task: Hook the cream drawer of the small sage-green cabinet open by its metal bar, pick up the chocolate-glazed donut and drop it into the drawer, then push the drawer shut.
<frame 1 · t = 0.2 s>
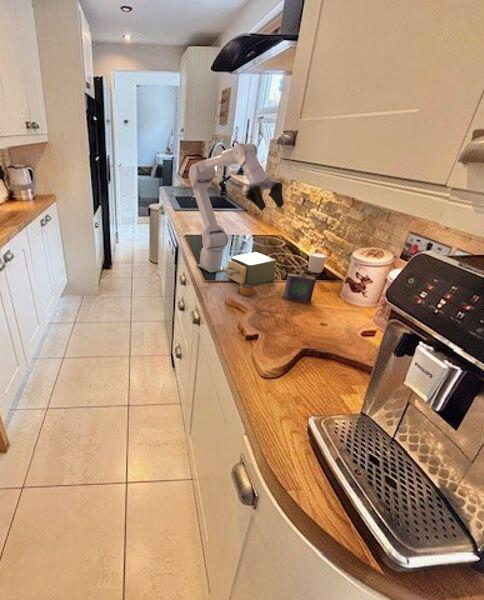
hand: (272, 207, 106), 31 cm above the worktop, tool tilted 45°, fingers open, 7 cm apart
cabinet: (250, 278, 132), on the worktop
flask: (296, 300, 115), on the worktop
shot glass: (314, 270, 142), on the worktop
drawer: (242, 270, 128), point 4 cm above the worktop, slide at 1.0 cm
donut: (246, 292, 120), on the worktop
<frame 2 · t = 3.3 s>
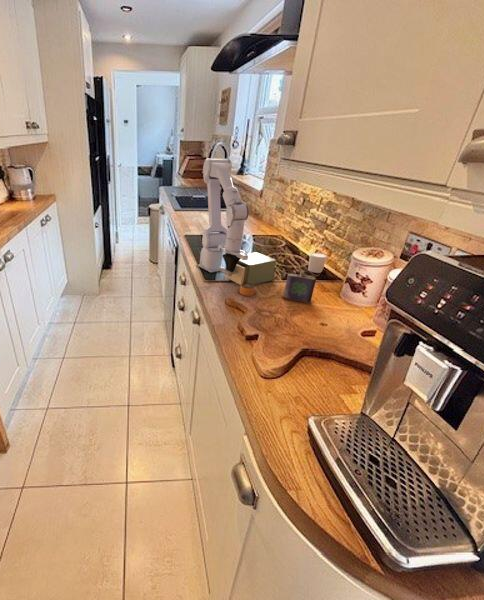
hand: (229, 272, 124), 5 cm above the worktop, tool pointing down, fingers closed, pressing on drawer
drawer: (241, 271, 127), point 4 cm above the worktop, slide at 1.8 cm, touching gripper
everything else where it was.
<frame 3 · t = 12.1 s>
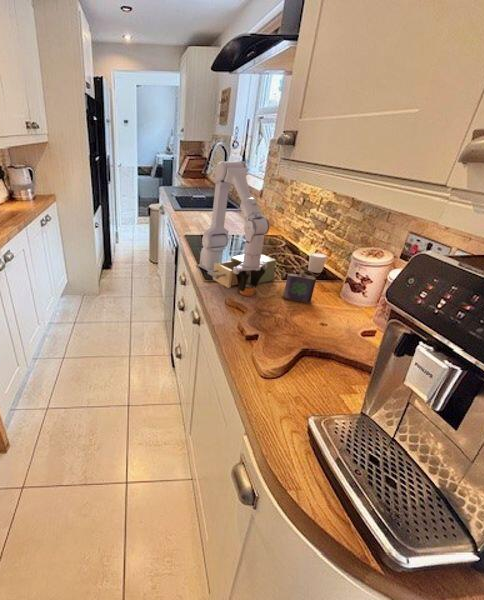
hand: (247, 288, 119), 2 cm above the worktop, tool pointing down, fingers closed on donut, 5 cm apart
drawer: (229, 273, 125), point 4 cm above the worktop, slide at 7.8 cm
donut: (246, 292, 120), on the worktop, touching gripper
everything else where it was.
when the fingers open (6 cm above the worktop, at t = 16.1 s): donut drops 3 cm, resting on drawer.
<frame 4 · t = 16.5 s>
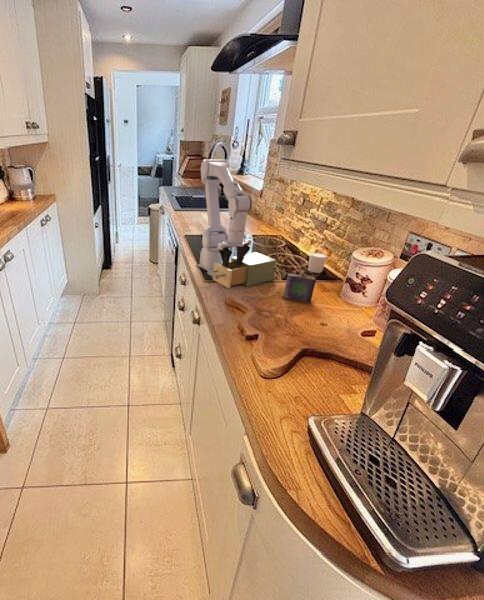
hand: (232, 265, 124), 8 cm above the worktop, tool pointing down, fingers open, 6 cm apart
drawer: (229, 273, 125), point 4 cm above the worktop, slide at 7.9 cm, touching donut, gripper
donut: (230, 278, 126), point 2 cm above the worktop, touching drawer
everything else where it was.
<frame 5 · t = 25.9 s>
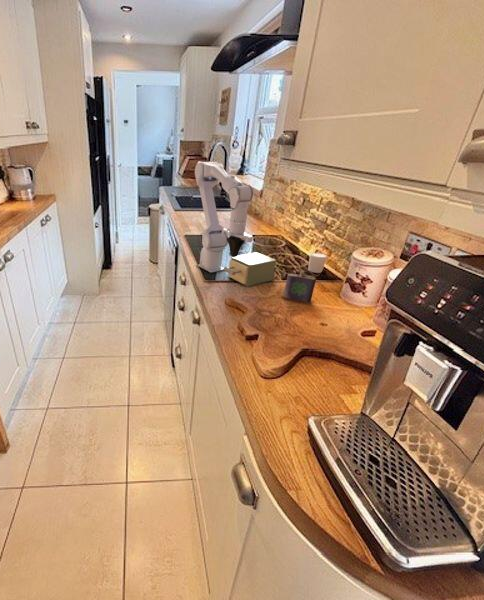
hand: (234, 256, 124), 10 cm above the worktop, tool pointing down, fingers closed
drawer: (244, 270, 128), point 4 cm above the worktop, slide at 0.0 cm, touching donut
donut: (245, 275, 130), point 2 cm above the worktop, touching drawer
everything else where it was.
at the end: drawer pulled out 8.1 cm at the most during the clip, back to where it started at the end; donut inside the target area in the cabinet (3.0 cm from its centre), point 2.0 cm above the cabinet's base; drawer slide at 0.0 cm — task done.
